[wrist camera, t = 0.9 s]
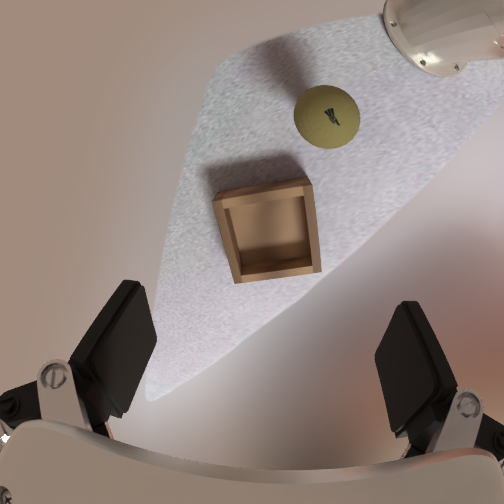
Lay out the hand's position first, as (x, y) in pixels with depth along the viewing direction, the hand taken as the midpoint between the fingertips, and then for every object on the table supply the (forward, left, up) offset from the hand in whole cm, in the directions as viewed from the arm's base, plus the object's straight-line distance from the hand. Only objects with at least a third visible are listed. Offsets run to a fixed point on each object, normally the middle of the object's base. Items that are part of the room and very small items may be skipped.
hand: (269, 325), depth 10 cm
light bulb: (-6, -6, -24) cm, 25 cm away
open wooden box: (+1, +6, -23) cm, 24 cm away
